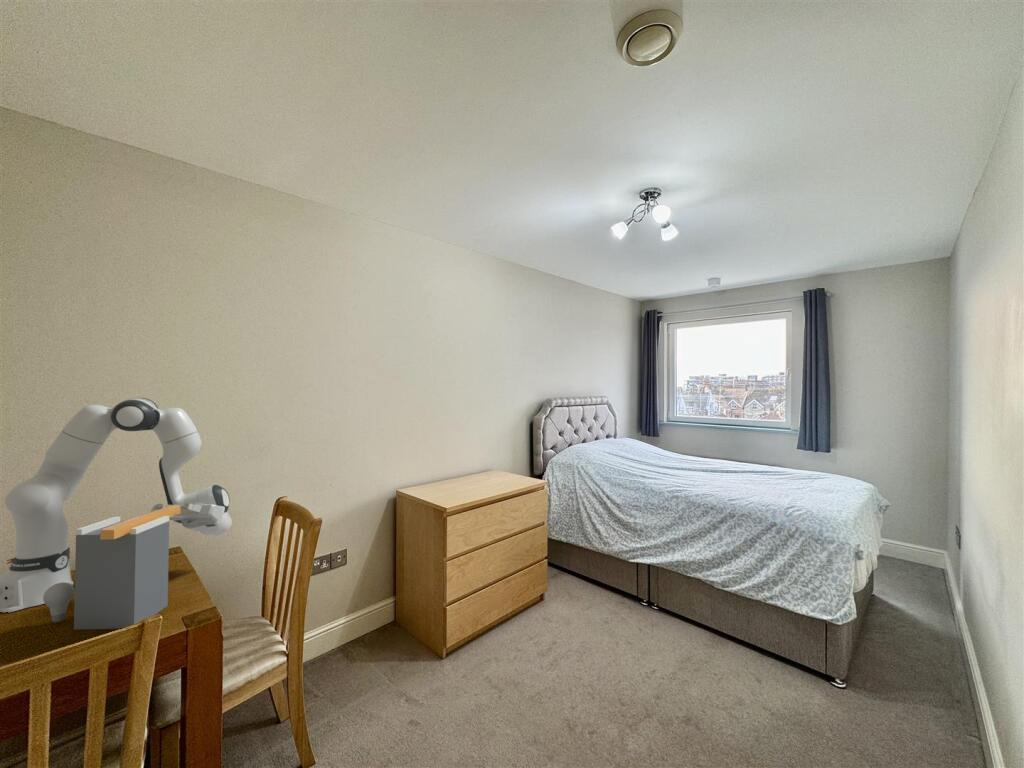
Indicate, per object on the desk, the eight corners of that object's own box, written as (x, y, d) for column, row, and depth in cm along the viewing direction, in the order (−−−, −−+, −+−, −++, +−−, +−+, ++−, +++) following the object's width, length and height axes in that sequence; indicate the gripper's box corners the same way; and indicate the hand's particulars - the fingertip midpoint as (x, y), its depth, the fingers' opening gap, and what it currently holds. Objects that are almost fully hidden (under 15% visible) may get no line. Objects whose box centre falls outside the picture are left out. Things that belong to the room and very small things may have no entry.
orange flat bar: (100, 539, 112) (100, 530, 112) (169, 513, 136) (169, 505, 136) (113, 539, 112) (114, 530, 112) (180, 513, 136) (180, 505, 136)
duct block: (73, 629, 115) (76, 529, 116) (113, 607, 127) (115, 516, 128) (133, 628, 116) (136, 528, 116) (167, 606, 128) (169, 516, 128)
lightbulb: (39, 630, 115) (40, 590, 115) (46, 620, 120) (47, 582, 120) (70, 623, 118) (71, 584, 118) (76, 614, 123) (77, 576, 123)
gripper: (170, 507, 148) (142, 496, 136) (229, 507, 149) (207, 496, 137) (163, 526, 145) (133, 516, 133) (224, 525, 145) (200, 515, 134)
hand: (171, 506), depth 135 cm, fingers open, 8 cm apart
